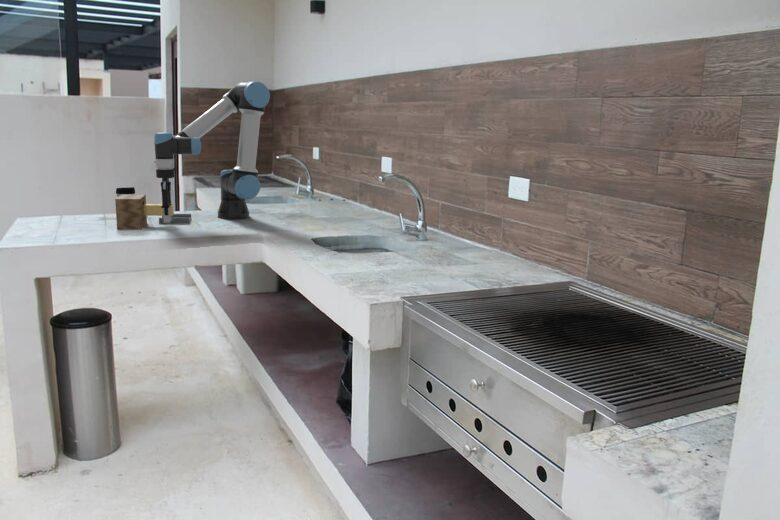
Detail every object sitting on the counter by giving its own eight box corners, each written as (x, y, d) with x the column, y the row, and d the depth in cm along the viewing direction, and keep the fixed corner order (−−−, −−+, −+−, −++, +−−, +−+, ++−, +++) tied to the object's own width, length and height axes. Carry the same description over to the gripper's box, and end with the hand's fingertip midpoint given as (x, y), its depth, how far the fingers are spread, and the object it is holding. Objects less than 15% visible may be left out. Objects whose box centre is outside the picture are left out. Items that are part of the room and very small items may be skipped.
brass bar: (173, 214, 291) (173, 204, 290) (172, 215, 286) (172, 205, 285) (126, 213, 286) (125, 203, 285) (124, 215, 282) (124, 205, 281)
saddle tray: (191, 219, 308) (191, 213, 308) (189, 223, 296) (189, 218, 295) (162, 219, 305) (162, 213, 305) (159, 224, 293) (158, 218, 292)
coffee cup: (132, 221, 297) (130, 188, 294) (114, 220, 297) (112, 188, 294) (139, 218, 306) (138, 186, 302) (121, 218, 306) (120, 186, 302)
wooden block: (147, 223, 294) (145, 194, 291) (141, 229, 279) (140, 199, 276) (123, 223, 292) (121, 194, 289) (117, 229, 277) (115, 199, 274)
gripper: (158, 166, 291) (161, 218, 296) (153, 170, 274) (156, 224, 279) (176, 166, 293) (178, 218, 298) (172, 170, 276) (174, 224, 281)
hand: (167, 221), depth 288 cm, fingers closed on brass bar, 4 cm apart
